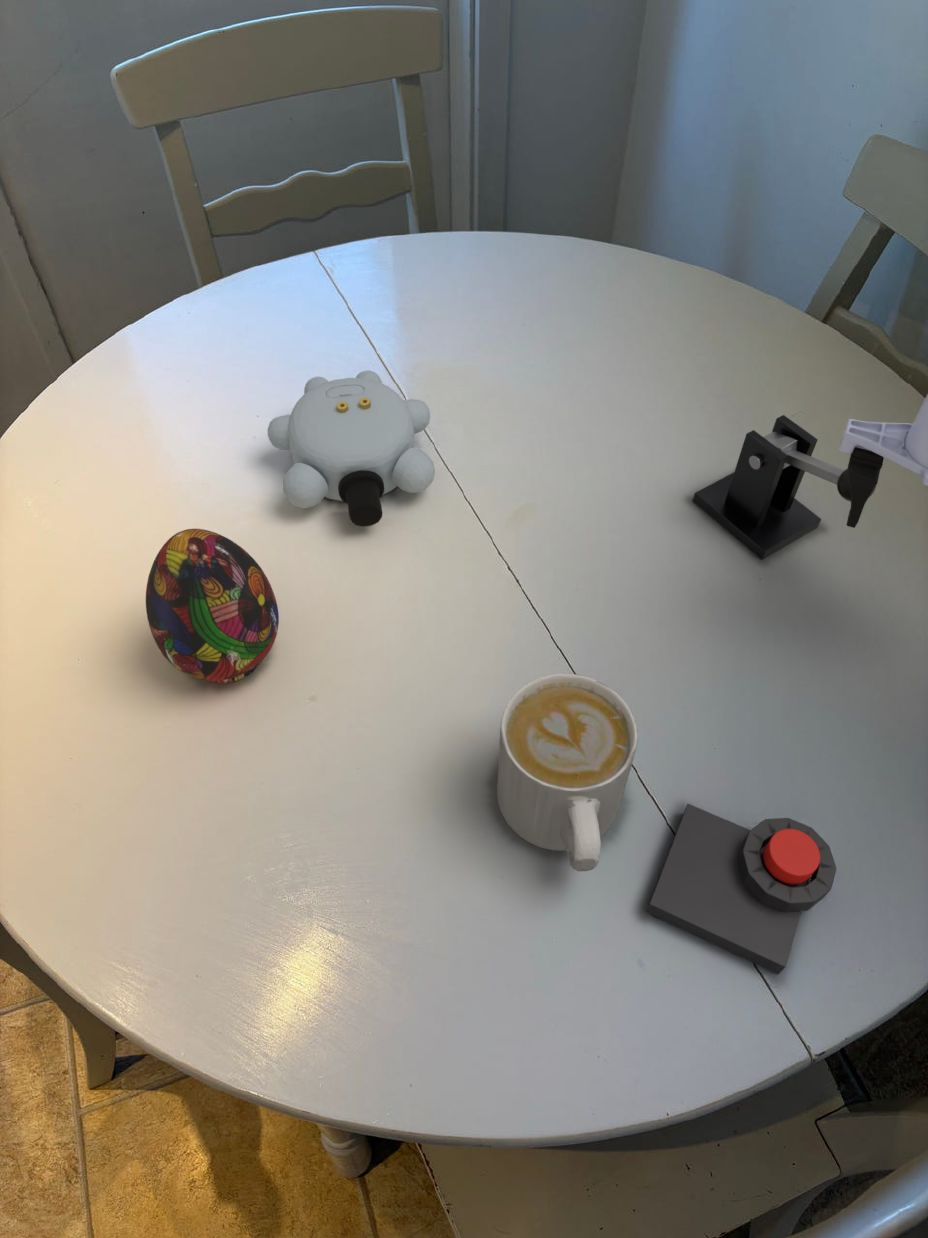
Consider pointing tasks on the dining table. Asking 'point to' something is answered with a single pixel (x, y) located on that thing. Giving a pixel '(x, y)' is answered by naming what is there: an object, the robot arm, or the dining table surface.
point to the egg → (210, 607)
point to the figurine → (352, 445)
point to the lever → (812, 464)
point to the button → (791, 856)
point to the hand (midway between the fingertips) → (898, 532)
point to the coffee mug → (565, 763)
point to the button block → (736, 887)
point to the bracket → (762, 493)
